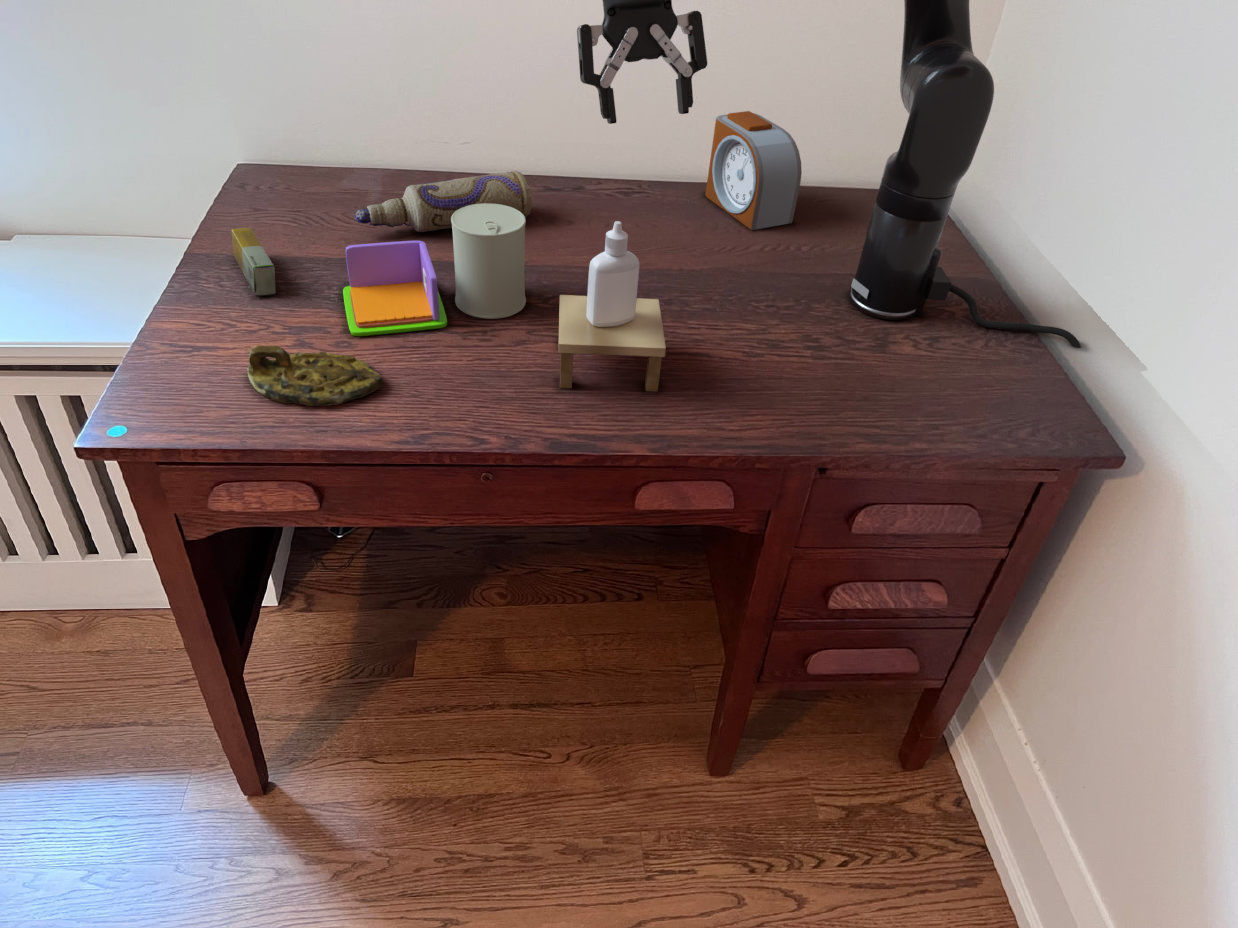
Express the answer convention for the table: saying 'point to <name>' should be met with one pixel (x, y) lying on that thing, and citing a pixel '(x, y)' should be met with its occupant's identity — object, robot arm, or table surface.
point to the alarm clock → (754, 170)
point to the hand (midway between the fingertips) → (648, 118)
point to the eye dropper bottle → (613, 282)
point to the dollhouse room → (391, 289)
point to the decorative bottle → (448, 201)
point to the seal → (310, 376)
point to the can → (489, 260)
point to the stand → (611, 337)
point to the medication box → (253, 262)
